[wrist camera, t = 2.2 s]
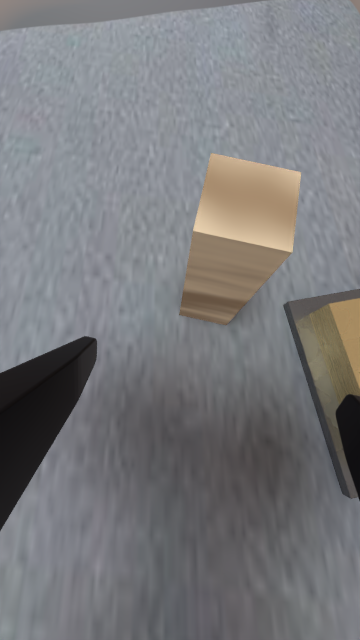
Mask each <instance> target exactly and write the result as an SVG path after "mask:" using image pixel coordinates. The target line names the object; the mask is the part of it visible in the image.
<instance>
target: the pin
mask: <svg viewBox="0 0 360 640" xmlns="http://www.w3.org/2000/svg"><path fill="white" fill-rule="evenodd" d="M300 178H301V172H297V171H292V170H288V169H283V168H278V167H274V166H269V165H264V164H260V163H255V162H250V161H246V160H241V159H236V158H232V157H227V156H222V155H218V154H213V153H211V156H210V161H209V165H208V169H207V173H206V178H205V182H204V186H203V191H202V195H201V199H200V204H199V208H198V212H197V216H196V221H195V225H194V229H193V235H192V241H191V247H190V253H189V259H188V265H187V271H186V277H185V284H184V290H183V296H182V302H181V308H180V314H179V315H182V316H187V317H191V318H196V319H200V320H205V321H209V322H214V323H218V324H223V325H227V324H228V323H229V322H230V320H231V319H232V318H233V317H234V316H235V315H236V314H237V313H238V312H239V311H240V309H241V308H242V307H243V306H244V305H245V304H246V303H247V302H248V301H249V300H250V298H251V297H252V296H253V295H254V294H255V293H256V292H257V291H258V290H259V289H260V287H261V286H262V285H263V284H264V283H265V282H266V281H267V280H268V279H269V278H270V276H271V275H272V274H273V273H274V272H275V271H276V270H277V269H278V268H279V267H280V265H281V264H282V263H283V262H284V261H285V260H286V259H287V258H288V257H289V256H290V254H291V253H292V251H293V242H294V232H295V223H296V214H297V205H298V196H299V187H300Z"/></svg>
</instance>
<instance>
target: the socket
mask: <svg viewBox="0 0 360 640" xmlns="http://www.w3.org/2000/svg"><path fill="white" fill-rule="evenodd" d="M284 309H285V312H286V315H287V318H288V321H289V324H290V328H291V331H292V334H293V337H294V340H295V344H296V347H297V350H298V353H299V356H300V360H301V363H302V366H303V369H304V372H305V375H306V379H307V382H308V385H309V388H310V391H311V395H312V398H313V401H314V404H315V407H316V411H317V414H318V417H319V420H320V423H321V426H322V430H323V433H324V436H325V439H326V442H327V446H328V449H329V452H330V455H331V458H332V462H333V465H334V468H335V471H336V474H337V477H338V481H339V484H340V487H341V490H342V493H343V494H344V495H346V496H347V497H349V498H351V499H352V498H356V497H358V495H357V492H356V489H355V486H354V483H353V480H352V477H351V474H350V471H349V468H348V465H347V462H346V458H345V455H344V451H343V446H342V442H341V438H340V433H339V429H338V425H337V420H336V416H335V413H336V409H337V408H338V406H339V405H340V403H341V402H342V400H343V399H344V398H345V396H346V395H348V394H354V395H358V396H360V289H357V290H351V291H345V292H340V293H334V294H329V295H323V296H318V297H312V298H306V299H301V300H295V301H290V302H287V303H286V304H284Z"/></svg>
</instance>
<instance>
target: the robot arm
mask: <svg viewBox="0 0 360 640" xmlns="http://www.w3.org/2000/svg"><path fill="white" fill-rule="evenodd" d="M96 358H97V340H96V339H95V338H92V337H87V336H84V337H82V338H79V339H77V340H75V341H73V342H70V343H68V344H66V345H63V346H61V347H59V348H57V349H54V350H52V351H50V352H47V353H45V354H43V355H41V356H38V357H36V358H34V359H31V360H29V361H27V362H25V363H22V364H20V365H18V366H16V367H13V368H11V369H9V370H6V371H4V372H2V373H0V530H1V529H2V527H3V525H4V524H5V522H6V520H7V519H8V517H9V515H10V514H11V512H12V510H13V509H14V507H15V505H16V504H17V502H18V500H19V499H20V497H21V495H22V494H23V492H24V490H25V489H26V487H27V485H28V484H29V482H30V480H31V479H32V477H33V475H34V474H35V472H36V470H37V469H38V467H39V465H40V464H41V462H42V460H43V459H44V457H45V455H46V454H47V452H48V450H49V449H50V447H51V445H52V444H53V442H54V440H55V439H56V437H57V435H58V434H59V432H60V430H61V429H62V427H63V425H64V424H65V422H66V420H67V419H68V417H69V415H70V414H71V412H72V410H73V409H74V407H75V405H76V403H77V402H78V400H79V398H80V396H81V393H82V391H83V389H84V387H85V385H86V382H87V380H88V378H89V376H90V373H91V371H92V369H93V367H94V365H95V362H96ZM335 416H336V420H337V425H338V429H339V433H340V438H341V442H342V446H343V451H344V455H345V458H346V462H347V465H348V468H349V471H350V474H351V477H352V480H353V483H354V486H355V489H356V492H357V495H358V497H359V500H360V396H358V395H354V394H348V395H346V396H345V398H344V399H343V400H342V402H341V403H340V405H339V406H338V408H337V409H336V413H335Z"/></svg>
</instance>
